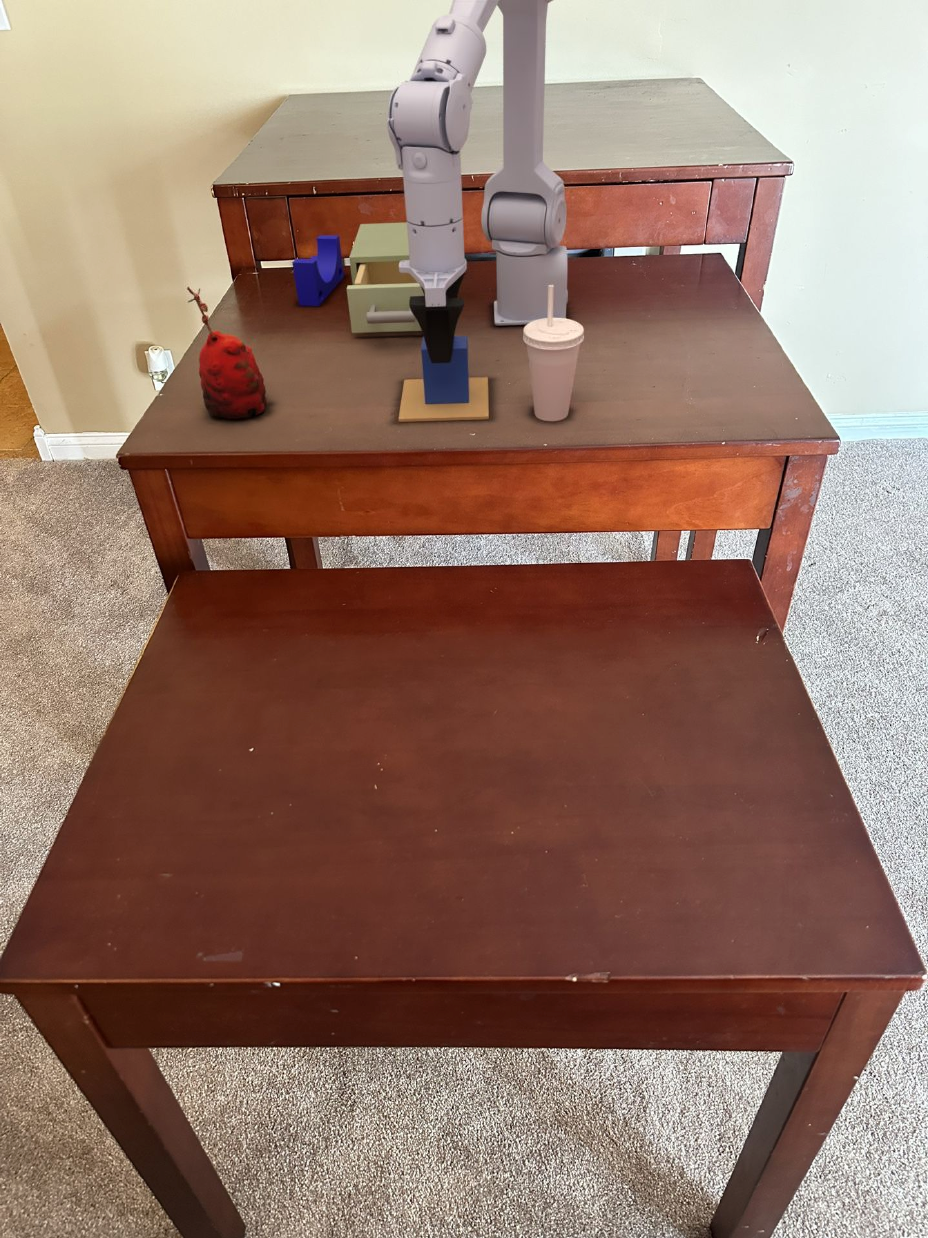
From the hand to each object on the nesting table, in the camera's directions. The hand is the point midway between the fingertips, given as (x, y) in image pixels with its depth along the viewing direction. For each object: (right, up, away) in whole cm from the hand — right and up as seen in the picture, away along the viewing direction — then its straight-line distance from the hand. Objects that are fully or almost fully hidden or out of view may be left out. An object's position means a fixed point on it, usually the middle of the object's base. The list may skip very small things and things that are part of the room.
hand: (442, 346), depth 99 cm
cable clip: (-19, +18, +33) cm, 43 cm away
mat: (0, -5, +4) cm, 6 cm away
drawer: (-6, +10, +21) cm, 25 cm away
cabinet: (-6, +17, +31) cm, 36 cm away
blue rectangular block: (+1, -5, +4) cm, 6 cm away
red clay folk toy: (-24, -6, +4) cm, 25 cm away
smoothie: (+12, -7, +1) cm, 14 cm away
